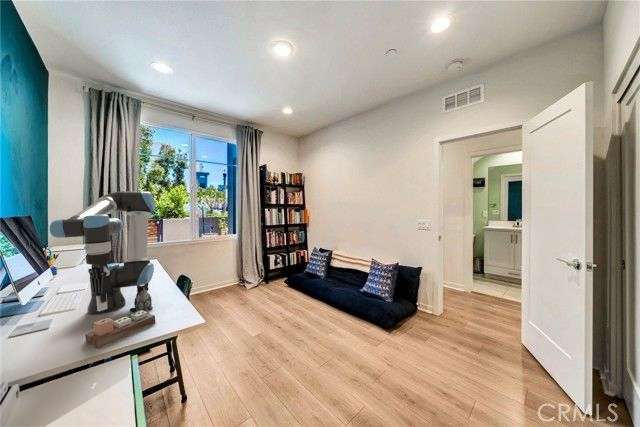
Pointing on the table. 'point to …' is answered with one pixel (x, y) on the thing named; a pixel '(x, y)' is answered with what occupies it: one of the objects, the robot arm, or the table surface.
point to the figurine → (142, 299)
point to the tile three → (138, 315)
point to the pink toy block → (103, 326)
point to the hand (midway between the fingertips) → (102, 309)
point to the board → (119, 332)
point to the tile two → (122, 322)
